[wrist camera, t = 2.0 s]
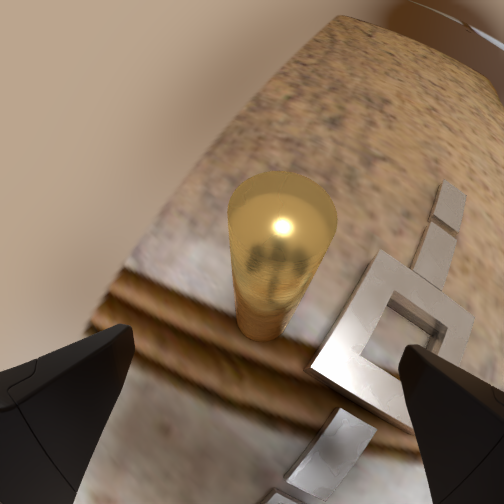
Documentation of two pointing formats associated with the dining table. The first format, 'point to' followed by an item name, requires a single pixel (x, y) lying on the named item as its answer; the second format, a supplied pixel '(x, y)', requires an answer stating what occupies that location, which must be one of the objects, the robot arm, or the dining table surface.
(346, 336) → the square frame with tiles
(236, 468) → the dining table surface
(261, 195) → the pin
